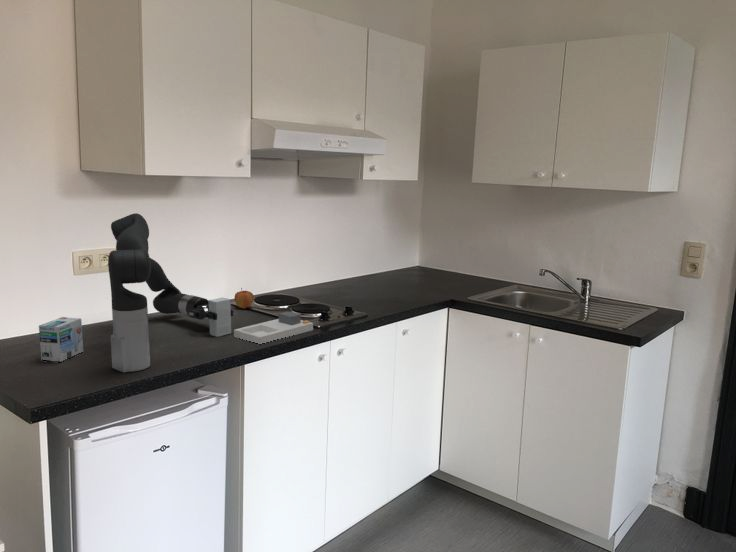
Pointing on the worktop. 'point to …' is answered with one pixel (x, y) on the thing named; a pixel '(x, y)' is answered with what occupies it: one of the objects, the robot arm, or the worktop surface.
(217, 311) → the skincare box
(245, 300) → the apple
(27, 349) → the worktop surface
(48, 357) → the light bulb box
